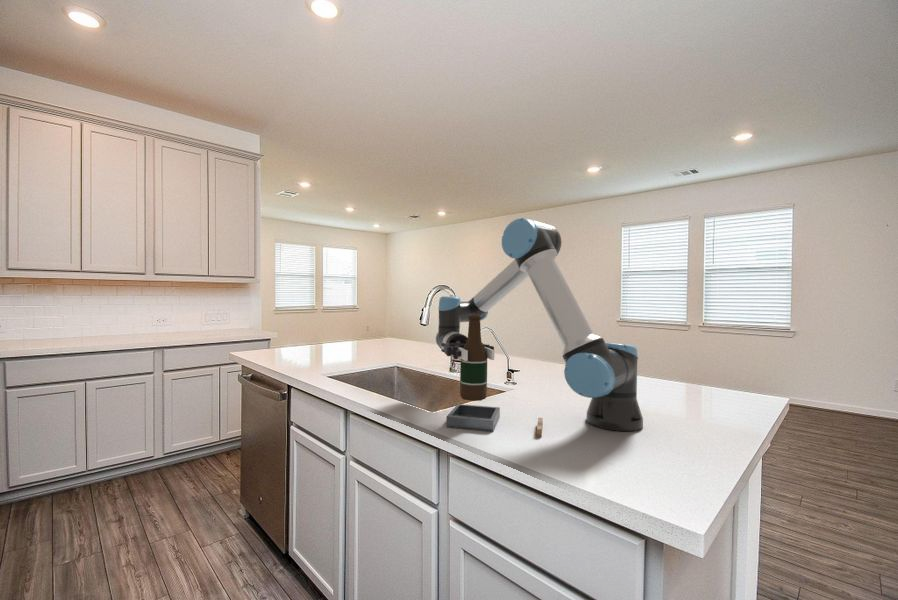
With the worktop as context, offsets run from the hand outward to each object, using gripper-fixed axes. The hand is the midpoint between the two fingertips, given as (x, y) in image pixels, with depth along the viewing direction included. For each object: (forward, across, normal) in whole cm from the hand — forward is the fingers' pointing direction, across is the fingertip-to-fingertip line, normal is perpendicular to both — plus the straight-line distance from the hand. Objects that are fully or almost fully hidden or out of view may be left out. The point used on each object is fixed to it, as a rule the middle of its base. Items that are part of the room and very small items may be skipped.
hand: (479, 355), depth 111 cm
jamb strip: (+6, -15, -20) cm, 26 cm away
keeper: (-4, 0, -20) cm, 20 cm away
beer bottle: (-5, 0, -13) cm, 14 cm away
